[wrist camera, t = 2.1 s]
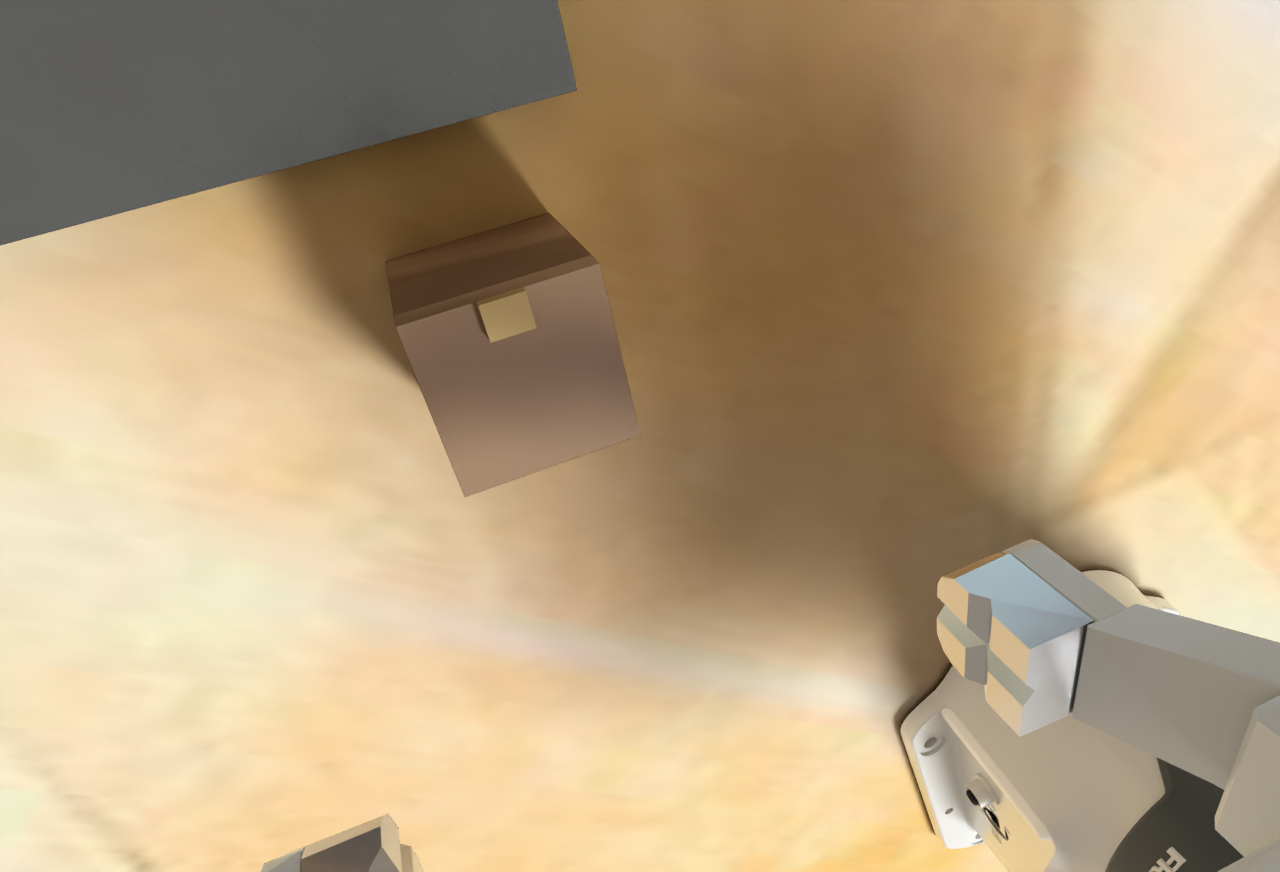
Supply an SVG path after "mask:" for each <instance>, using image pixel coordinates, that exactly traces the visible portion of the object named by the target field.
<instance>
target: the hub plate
mask: <svg viewBox="0 0 1280 872" xmlns="http://www.w3.org/2000/svg"><path fill="white" fill-rule="evenodd" d="M576 90H577V87H576V83H575V78H574V74H573V69H572V65H571V61H570V56H569V52H568V47H567V43H566V38H565V34H564V29H563V25H562V21H561V16H560V12H559V7H558V3H557V0H0V245H4V244H7V243H11V242H15V241H18V240H22V239H26V238H30V237H33V236H37V235H41V234H44V233H48V232H52V231H56V230H59V229H63V228H67V227H71V226H74V225H78V224H82V223H85V222H89V221H93V220H97V219H100V218H104V217H108V216H111V215H115V214H119V213H123V212H126V211H130V210H134V209H137V208H141V207H145V206H149V205H152V204H156V203H160V202H163V201H167V200H171V199H175V198H178V197H182V196H186V195H190V194H193V193H197V192H201V191H204V190H208V189H212V188H216V187H219V186H223V185H227V184H230V183H234V182H238V181H242V180H245V179H249V178H253V177H256V176H260V175H264V174H268V173H271V172H275V171H279V170H282V169H286V168H290V167H294V166H297V165H301V164H305V163H308V162H312V161H316V160H320V159H323V158H327V157H331V156H335V155H338V154H342V153H346V152H349V151H353V150H357V149H361V148H364V147H368V146H372V145H375V144H379V143H383V142H387V141H390V140H394V139H398V138H401V137H405V136H409V135H413V134H416V133H420V132H424V131H427V130H431V129H435V128H439V127H442V126H446V125H450V124H454V123H457V122H461V121H465V120H468V119H472V118H476V117H480V116H483V115H487V114H491V113H494V112H498V111H502V110H506V109H509V108H513V107H517V106H520V105H524V104H528V103H532V102H535V101H539V100H543V99H546V98H550V97H554V96H558V95H561V94H565V93H569V92H573V91H576Z"/></svg>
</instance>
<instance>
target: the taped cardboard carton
mask: <svg viewBox="0 0 1280 872" xmlns="http://www.w3.org/2000/svg"><path fill="white" fill-rule="evenodd" d="M386 267H387V274H388V280H389V287H390V294H391V300H392V307H393V314H394V320H395V327H396V330H397V332H398V334H399V337H400V339H401V342H402V344H403V347H404V349H405V352H406V354H407V357H408V359H409V362H410V364H411V366H412V369H413V371H414V374H415V376H416V379H417V381H418V384H419V386H420V389H421V391H422V394H423V396H424V398H425V401H426V403H427V406H428V408H429V411H430V413H431V416H432V418H433V421H434V423H435V425H436V428H437V430H438V433H439V435H440V438H441V440H442V443H443V445H444V448H445V450H446V453H447V455H448V457H449V460H450V462H451V465H452V467H453V470H454V472H455V475H456V477H457V480H458V482H459V484H460V487H461V489H462V492H463V494H464V497H467V496H470V495H473V494H475V493H478V492H481V491H484V490H487V489H489V488H492V487H495V486H498V485H501V484H504V483H506V482H509V481H512V480H515V479H518V478H520V477H523V476H526V475H529V474H532V473H534V472H537V471H540V470H543V469H546V468H548V467H551V466H554V465H557V464H560V463H562V462H565V461H568V460H571V459H574V458H577V457H579V456H582V455H585V454H588V453H591V452H593V451H596V450H599V449H602V448H605V447H607V446H610V445H613V444H616V443H619V442H621V441H624V440H627V439H630V438H633V437H636V436H638V435H640V432H639V427H638V423H637V419H636V415H635V410H634V406H633V402H632V398H631V394H630V389H629V385H628V381H627V377H626V373H625V368H624V364H623V360H622V356H621V351H620V347H619V343H618V339H617V335H616V330H615V326H614V322H613V318H612V314H611V309H610V305H609V301H608V297H607V292H606V288H605V284H604V280H603V276H602V271H601V267H600V263H599V262H598V261H597V260H596V259H595V258H594V257H593V256H592V255H591V254H590V253H589V252H588V251H587V250H586V249H585V248H584V247H583V246H582V245H581V244H580V243H579V242H578V241H577V240H576V239H575V238H574V237H573V236H572V235H571V234H570V233H569V232H568V231H567V230H566V229H565V228H564V227H563V226H562V225H561V224H560V223H559V222H558V221H557V220H556V219H555V218H554V217H553V216H552V215H551V214H550V213H548V214H544V215H541V216H537V217H534V218H531V219H527V220H524V221H521V222H517V223H514V224H510V225H507V226H504V227H500V228H497V229H494V230H490V231H487V232H483V233H480V234H477V235H473V236H470V237H467V238H463V239H460V240H456V241H453V242H450V243H446V244H443V245H440V246H436V247H433V248H429V249H426V250H423V251H419V252H416V253H413V254H409V255H406V256H402V257H399V258H396V259H392V260H389V261H386Z"/></svg>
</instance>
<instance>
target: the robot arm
mask: <svg viewBox="0 0 1280 872" xmlns="http://www.w3.org/2000/svg"><path fill="white" fill-rule="evenodd" d="M937 597H938V598H939V599H940V600H941V601H942V602H943V603H944V604H945V605H944V607H943V608H942V610H941V612H940V613H939V615H938V616H937V618H936V619H937V636H938V638H939V641H940V643H941V646H942V648H943V651H944V653H945V654H946V656H947V657H948V659H949V660H950V662H951V663H952V665H953V666H952V667H951V669H950V670H949V672H948V673H947V675H946V676H945V678H944V679H943V681H942V682H941V683H940V685H939V686H938V687H937V688H936V690H935V691H933V692H932V693H931V694H930V695H929V696H928V697H927V698H926V699H925V700H923V701H922V702H921V703H920V704H919V705H918V706H917V707H916V708H915V709H914V710H913V711H912V712H911V713H910V714H909V715H908V716H907V718H906V719H905V720H904V722H903V723H902V725H901V730H900V732H901V736H902V739H903V742H904V745H905V748H906V751H907V753H908V756H909V759H910V762H911V765H912V768H913V771H914V774H915V777H916V780H917V783H918V785H919V788H920V791H921V794H922V797H923V800H924V803H925V806H926V809H927V812H928V815H929V818H930V820H931V823H932V826H933V829H934V832H935V835H936V836H937V838H938V839H939V840H940V841H941V842H942V844H943V845H944V846H945V847H946V848H948V849H958V848H966V847H970V846H975V845H978V844H982V843H986V844H987V846H988V847H989V848H990V849H991V851H992V852H993V853H994V855H995V856H996V857H997V858H998V860H999V861H1000V862H1001V863H1002V865H1003V866H1004V867H1005V868H1006V869H1007V871H1008V872H1280V643H1279V642H1275V641H1271V640H1268V639H1264V638H1260V637H1257V636H1253V635H1249V634H1246V633H1242V632H1238V631H1235V630H1231V629H1227V628H1224V627H1220V626H1216V625H1213V624H1209V623H1205V622H1202V621H1198V620H1195V619H1191V618H1187V617H1184V616H1181V615H1180V612H1179V611H1178V610H1177V609H1176V608H1175V607H1174V606H1172V605H1171V604H1170V603H1169V602H1168V601H1167V600H1165V599H1163V598H1159V597H1153V596H1145V595H1143V594H1142V593H1141V592H1140V591H1139V589H1138V588H1137V587H1136V586H1135V585H1134V584H1133V583H1132V582H1131V581H1130V580H1129V579H1128V578H1126V577H1125V576H1123V575H1121V574H1118V573H1116V572H1111V571H1105V570H1093V571H1085V572H1080V571H1079V570H1077V569H1076V568H1075V567H1073V566H1072V565H1071V564H1069V563H1068V562H1067V561H1065V560H1064V559H1063V558H1061V557H1060V556H1059V555H1057V554H1056V553H1055V552H1054V551H1052V550H1051V549H1050V548H1048V547H1047V546H1046V545H1044V544H1043V543H1041V542H1039V541H1036V540H1033V539H1029V540H1027V541H1024V542H1022V543H1019V544H1017V545H1015V546H1013V547H1010V548H1008V549H1006V550H1003V551H1001V552H999V553H994V554H992V555H990V556H987V557H985V558H983V559H981V560H978V561H976V562H974V563H972V564H969V565H967V566H965V567H963V568H960V569H958V570H956V571H954V572H951V573H949V574H947V575H945V576H942V577H941V579H940V580H939V582H938V584H937ZM261 872H424V871H423V868H422V866H421V864H420V861H419V859H418V857H417V855H416V853H415V852H414V850H413V849H412V847H411V846H407V845H403V844H400V840H399V827H398V826H397V825H396V823H395V822H394V821H393V819H392V818H391V817H390V815H389V814H386V815H384V816H381V817H378V818H376V819H373V820H371V821H368V822H366V823H363V824H361V825H358V826H356V827H353V828H351V829H348V830H346V831H343V832H340V833H338V834H335V835H333V836H330V837H328V838H325V839H323V840H320V841H318V842H315V843H313V844H310V845H308V846H305V847H303V848H300V849H298V850H295V851H293V852H291V853H288V854H286V855H283V856H281V857H279V858H276V859H274V860H271V861H269V862H267V863H264V866H263V868H262V870H261Z"/></svg>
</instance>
